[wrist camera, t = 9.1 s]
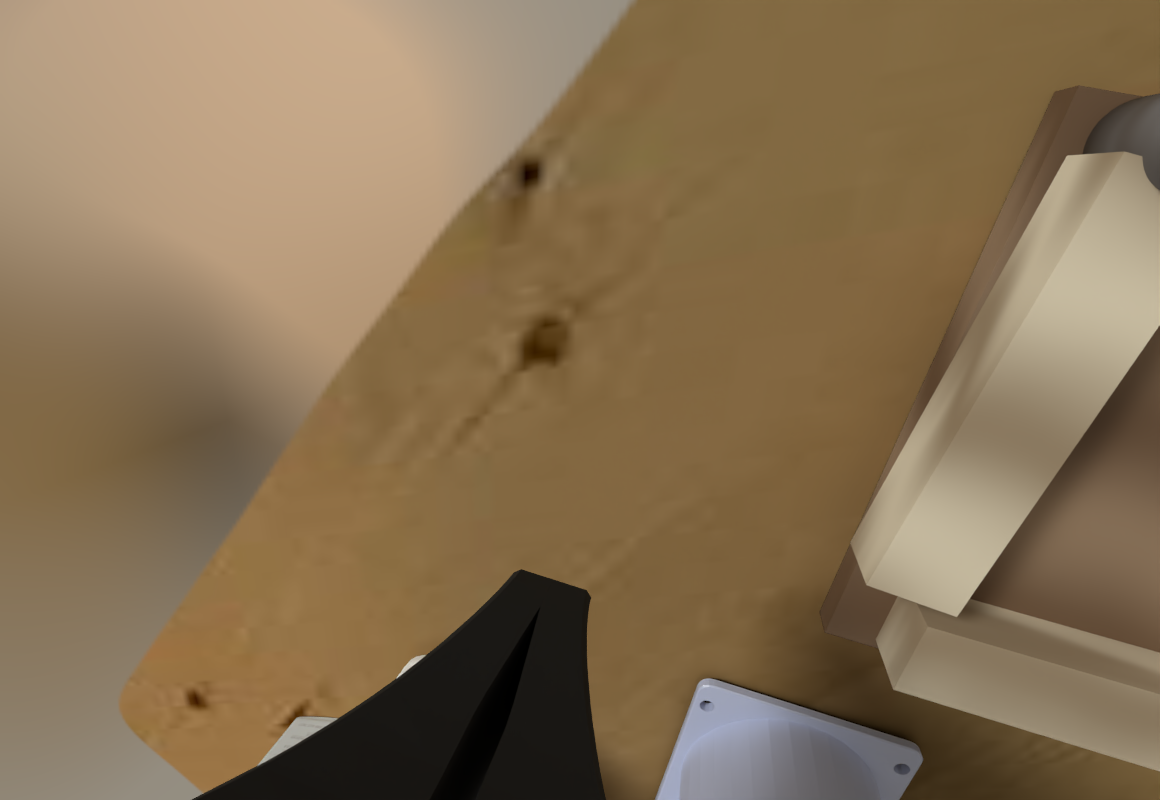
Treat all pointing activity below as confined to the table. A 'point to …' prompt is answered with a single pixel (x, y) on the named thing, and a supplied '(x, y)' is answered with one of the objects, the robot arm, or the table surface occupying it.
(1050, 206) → the hinged leg
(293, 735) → the skincare box
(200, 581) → the table surface
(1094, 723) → the stool seat
